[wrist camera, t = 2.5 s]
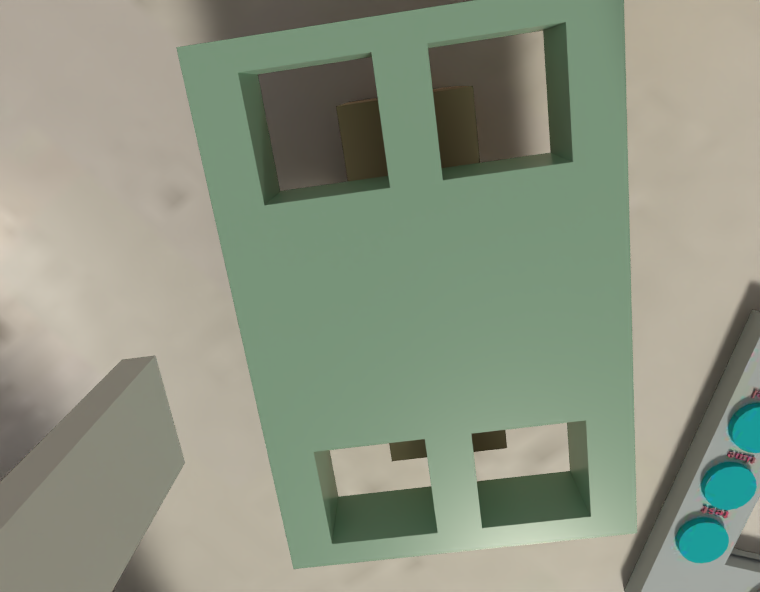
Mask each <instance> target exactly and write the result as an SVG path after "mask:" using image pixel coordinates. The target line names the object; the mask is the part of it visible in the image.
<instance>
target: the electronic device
mask: <svg viewBox="0 0 760 592" xmlns="http://www.w3.org/2000/svg"><path fill="white" fill-rule="evenodd" d="M759 497H760V311H757V310H753V309H752V311H751V314H750V316H749V318H748V320H747V322H746V325H745V327H744V329H743V331H742V333H741V336H740V338H739V340H738V342H737V344H736V347H735V349H734V351H733V353H732V355H731V358H730V360H729V362H728V364H727V366H726V369H725V371H724V373H723V375H722V377H721V380H720V382H719V384H718V386H717V388H716V390H715V393H714V395H713V397H712V399H711V401H710V404H709V406H708V408H707V410H706V412H705V415H704V417H703V419H702V421H701V423H700V426H699V428H698V430H697V432H696V434H695V437H694V439H693V441H692V443H691V445H690V448H689V450H688V452H687V454H686V456H685V458H684V461H683V463H682V465H681V467H680V469H679V472H678V474H677V476H676V478H675V480H674V483H673V485H672V487H671V489H670V491H669V494H668V496H667V498H666V500H665V502H664V505H663V507H662V509H661V511H660V513H659V516H658V518H657V520H656V522H655V524H654V526H653V529H652V531H651V533H650V535H649V537H648V540H647V542H646V544H645V546H644V548H643V551H642V553H641V555H640V557H639V559H638V562H637V564H636V566H635V568H634V570H633V573H632V575H631V577H630V579H629V581H628V584H627V586H626V588H625V590H624V591H625V592H760V554H756V553H752V552H747V551H743V550H738V549H734V546H735V544H736V542H737V540H738V538H739V536H740V534H741V532H742V530H743V528H744V526H745V524H746V522H747V520H748V518H749V516H750V514H751V512H752V510H753V508H754V506H755V504H756V503H757V501H758V499H759Z"/></svg>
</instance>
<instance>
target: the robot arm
mask: <svg viewBox="0 0 760 592" xmlns="http://www.w3.org/2000/svg"><path fill="white" fill-rule="evenodd" d="M184 463H185V461H184V458H183V454H182V451H181V447H180V443H179V440H178V436H177V432H176V429H175V425H174V422H173V418H172V414H171V411H170V407H169V403H168V400H167V396H166V393H165V389H164V385H163V382H162V378H161V374H160V371H159V367H158V364H157V360H156V356H148V357H140V358H132V359H124V360H121V361H120V362H119V363H118V364H117V365H116V366H115V367H114V368H113V369H112V370H111V371H110V372H109V373H108V374H107V375H106V376H105V377H104V378H103V379H102V380H101V381H100V382H99V383H98V384H97V385H96V386H95V387H94V388H93V389H92V390H91V391H90V392H89V393H88V394H87V395H86V396H85V397H84V398H83V399H82V400H81V401H80V402H79V403H78V404H77V405H76V406H75V407H74V408H73V409H72V410H71V412H70V413H69V414H68V415H67V416H66V417H65V418H64V419H63V420H62V421H61V422H60V423H59V424H58V425H57V426H56V427H55V428H54V429H53V430H52V431H51V432H50V433H49V434H48V435H47V436H46V437H45V438H44V439H43V440H42V441H41V442H40V443H39V444H38V445H37V446H36V447H35V448H34V449H33V450H32V451H31V452H30V453H29V454H28V455H27V456H26V457H25V458H24V459H23V460H22V461H21V462H20V463H19V464H18V465H17V466H16V467H15V468H14V469H13V470H12V471H11V472H10V473H9V474H8V475H7V476H6V477H5V478H4V479H3V480H2V481H1V482H0V592H112V591H113V589H114V587H115V585H116V584H117V582H118V580H119V578H120V577H121V575H122V573H123V571H124V570H125V568H126V566H127V564H128V562H129V561H130V559H131V557H132V555H133V554H134V552H135V550H136V548H137V547H138V545H139V543H140V541H141V539H142V538H143V536H144V534H145V532H146V531H147V529H148V527H149V525H150V524H151V522H152V520H153V518H154V516H155V515H156V513H157V511H158V509H159V508H160V506H161V504H162V502H163V500H164V499H165V497H166V495H167V493H168V492H169V490H170V488H171V486H172V485H173V483H174V481H175V479H176V477H177V476H178V474H179V472H180V470H181V469H182V467H183V465H184Z"/></svg>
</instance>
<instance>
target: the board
mask: <svg viewBox="0 0 760 592" xmlns="http://www.w3.org/2000/svg"><path fill="white" fill-rule="evenodd" d="M536 31H543V35H544V51H545V68H546V84H547V101H548V117H549V133H550V150H551V153H545V154H538V155H531V156H524V157H517V158H510V159H503V160H496V161H489V162H482V163H474V164H467V165H460V166H453V167H446V168H441V160H440V151H439V142H438V134H437V125H436V116H435V107H434V98H433V89H432V80H431V71H430V63H429V54H428V48H432V47H439V46H445V45H452V44H458V43H465V42H471V41H478V40H484V39H491V38H497V37H504V36H510V35H517V34H523V33H530V32H536ZM176 48H177V52H178V57H179V61H180V66H181V70H182V75H183V79H184V84H185V88H186V92H187V97H188V101H189V106H190V110H191V115H192V119H193V124H194V128H195V132H196V137H197V141H198V146H199V150H200V155H201V159H202V164H203V168H204V173H205V177H206V181H207V186H208V190H209V195H210V199H211V204H212V208H213V213H214V217H215V221H216V226H217V230H218V235H219V239H220V244H221V248H222V253H223V257H224V261H225V266H226V270H227V275H228V279H229V284H230V288H231V293H232V297H233V302H234V306H235V310H236V315H237V319H238V324H239V328H240V333H241V337H242V342H243V346H244V350H245V355H246V359H247V364H248V368H249V373H250V377H251V382H252V386H253V390H254V395H255V399H256V404H257V408H258V413H259V417H260V422H261V426H262V431H263V435H264V439H265V444H266V448H267V453H268V457H269V462H270V466H271V471H272V475H273V479H274V484H275V488H276V493H277V497H278V502H279V506H280V511H281V515H282V519H283V524H284V528H285V533H286V537H287V542H288V546H289V551H290V555H291V560H292V564H293V568H294V569H299V568H308V567H318V566H327V565H337V564H347V563H356V562H366V561H375V560H385V559H394V558H404V557H414V556H423V555H433V554H442V553H452V552H462V551H471V550H481V549H490V548H500V547H510V546H519V545H529V544H538V543H548V542H557V541H567V540H577V539H586V538H596V537H605V536H615V535H625V534H634V533H637V511H636V471H635V430H634V390H633V350H632V310H631V270H630V229H629V189H628V149H627V109H626V69H625V29H624V0H473V1H467V2H461V3H455V4H448V5H442V6H436V7H429V8H423V9H417V10H410V11H404V12H398V13H391V14H385V15H379V16H372V17H366V18H360V19H353V20H347V21H341V22H334V23H328V24H322V25H315V26H309V27H303V28H296V29H290V30H284V31H277V32H271V33H265V34H258V35H252V36H246V37H239V38H233V39H227V40H220V41H214V42H208V43H201V44H195V45H189V46H182V47H176ZM367 57H372V60H373V68H374V75H375V82H376V89H377V97H378V104H379V111H380V118H381V126H382V133H383V140H384V147H385V155H386V162H387V169H388V176H383V177H376V178H369V179H362V180H355V181H348V182H341V183H334V184H327V185H320V186H313V187H306V188H299V189H291V190H284V191H280V188H279V183H278V178H277V173H276V167H275V162H274V157H273V152H272V146H271V141H270V136H269V131H268V125H267V120H266V115H265V110H264V104H263V99H262V94H261V89H260V83H259V78H258V74H264V73H270V72H277V71H283V70H290V69H296V68H303V67H309V66H316V65H322V64H329V63H335V62H342V61H348V60H355V59H361V58H367ZM559 423H567V429H568V446H569V462H570V471H566V472H557V473H548V474H539V475H530V476H521V477H512V478H503V479H494V480H485V481H477V479H476V471H475V462H474V453H473V444H472V435H471V434H472V433H481V432H490V431H498V430H507V429H516V428H524V427H533V426H542V425H550V424H559ZM421 439H425V444H426V451H427V458H428V466H429V473H430V480H431V487H422V488H413V489H404V490H395V491H386V492H377V493H368V494H359V495H350V496H341V497H338V492H337V487H336V482H335V477H334V471H333V466H332V461H331V456H330V450H334V449H343V448H351V447H360V446H369V445H377V444H386V443H395V442H403V441H412V440H421Z"/></svg>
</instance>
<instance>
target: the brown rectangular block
mask: <svg viewBox="0 0 760 592" xmlns="http://www.w3.org/2000/svg"><path fill="white" fill-rule="evenodd" d="M433 98H434V107H435V116H436V125H437V134H438V142H439V151H440V160H441V168H446V167H453V166H460V165H467V164H474V163H480V158H479V147H478V136H477V126H476V115H475V105H474V94H473V86H453V87H446V88H439V89H433ZM336 109H337V115H338V121H339V128H340V134H341V140H342V147H343V153H344V159H345V166H346V172H347V178H348V181H355V180H362V179H369V178H376V177H383V176H388V169H387V162H386V155H385V147H384V140H383V133H382V126H381V118H380V111H379V104H378V98H372V99H366V100H359V101H352V102H348V103H345V104H342V105H339V106H336ZM471 435H472V444H473V452H476V451H485V450H494V449H503V448H507V444H506V433H505V430H498V431H490V432H481V433H472V434H471ZM389 445H390V451H391V457H392V461H397V460H406V459H415V458H424V457H427V451H426V444H425V439H421V440H412V441H403V442H395V443H389Z"/></svg>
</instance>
